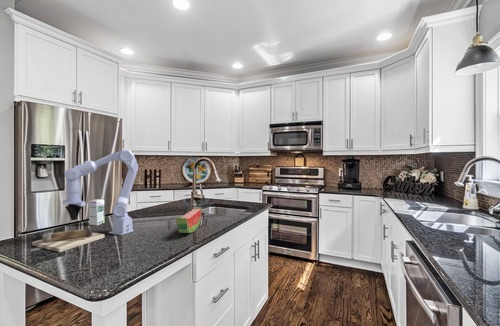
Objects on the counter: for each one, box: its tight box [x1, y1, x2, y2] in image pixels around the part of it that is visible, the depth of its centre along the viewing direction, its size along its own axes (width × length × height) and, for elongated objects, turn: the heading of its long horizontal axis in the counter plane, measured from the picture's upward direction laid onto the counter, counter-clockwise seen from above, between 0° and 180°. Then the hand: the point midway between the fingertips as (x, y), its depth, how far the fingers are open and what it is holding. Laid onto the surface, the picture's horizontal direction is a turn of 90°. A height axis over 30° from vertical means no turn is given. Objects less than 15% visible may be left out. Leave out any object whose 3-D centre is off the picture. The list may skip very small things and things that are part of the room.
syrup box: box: [88, 198, 106, 226], centre depth 143 cm, size 6×6×14 cm
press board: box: [32, 231, 105, 253], centre depth 114 cm, size 20×20×2 cm
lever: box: [42, 227, 93, 242], centre depth 112 cm, size 19×4×3 cm, turn 119°
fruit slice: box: [176, 207, 202, 234], centre depth 130 cm, size 26×6×10 cm, turn 175°
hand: (74, 219), depth 118 cm, fingers closed
